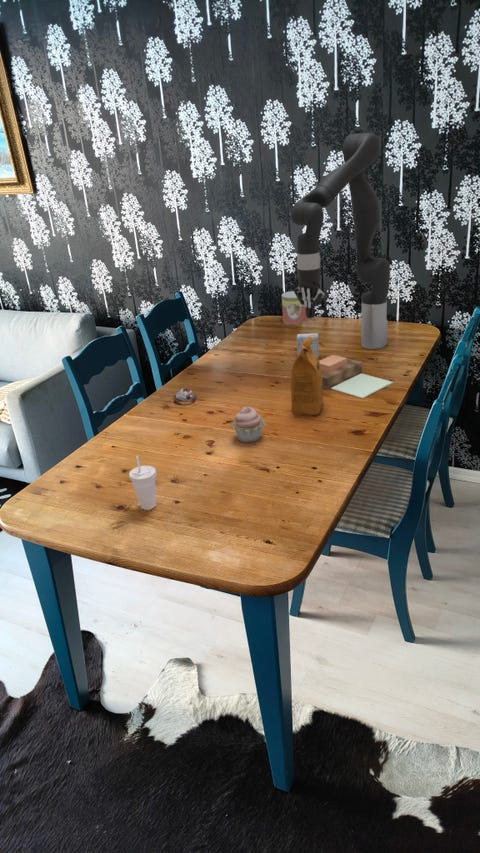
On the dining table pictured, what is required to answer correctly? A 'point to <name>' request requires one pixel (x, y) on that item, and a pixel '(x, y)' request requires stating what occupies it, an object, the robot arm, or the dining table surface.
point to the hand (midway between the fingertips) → (310, 317)
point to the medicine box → (314, 345)
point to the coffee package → (306, 382)
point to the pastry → (185, 397)
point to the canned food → (293, 309)
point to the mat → (361, 385)
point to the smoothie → (144, 485)
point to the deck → (341, 374)
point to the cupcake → (248, 425)
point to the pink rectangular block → (332, 363)
